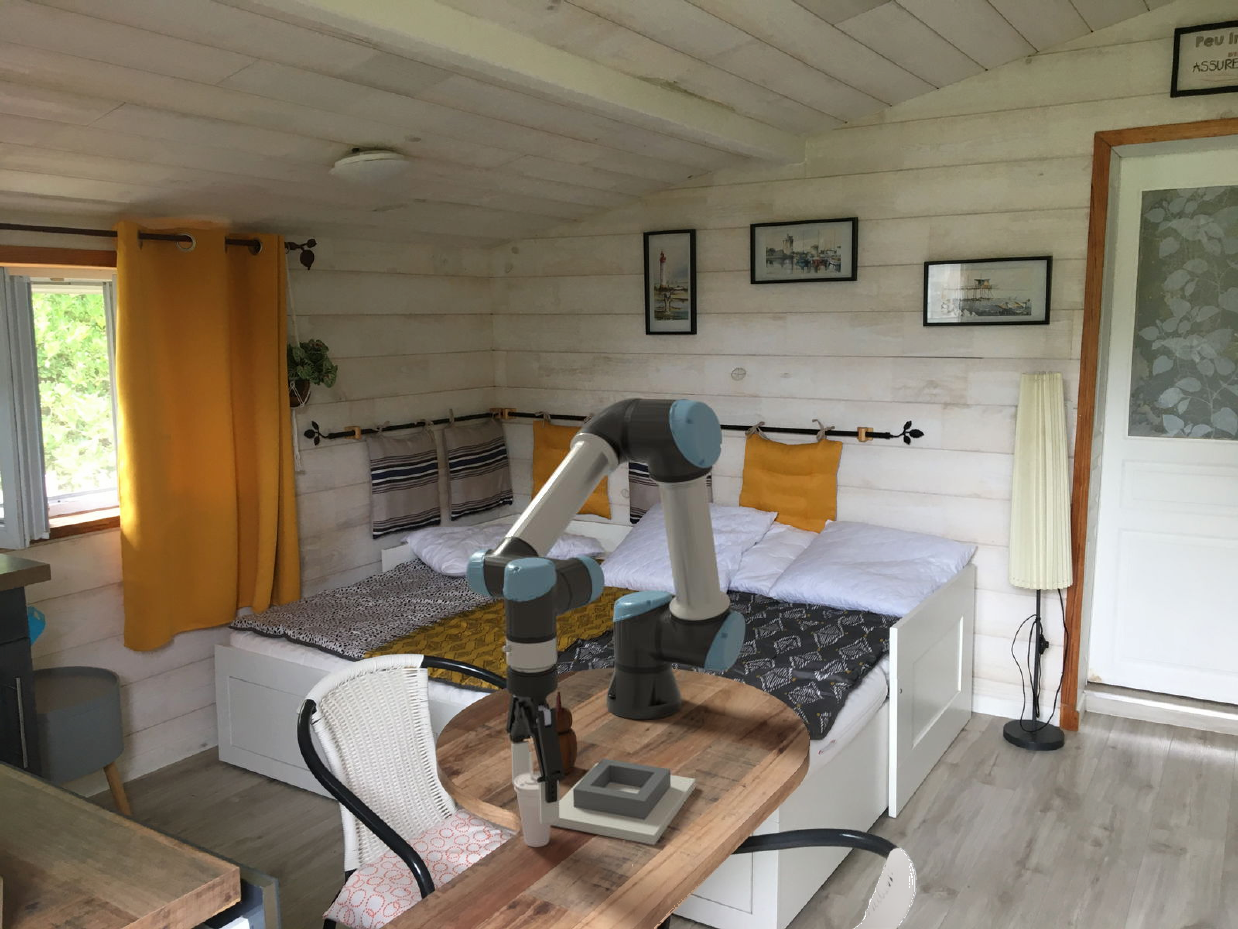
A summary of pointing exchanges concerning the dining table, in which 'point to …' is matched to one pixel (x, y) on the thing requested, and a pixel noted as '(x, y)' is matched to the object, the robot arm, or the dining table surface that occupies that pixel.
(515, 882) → the dining table surface
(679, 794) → the socket board
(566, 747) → the wooden figurine
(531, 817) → the smoothie
